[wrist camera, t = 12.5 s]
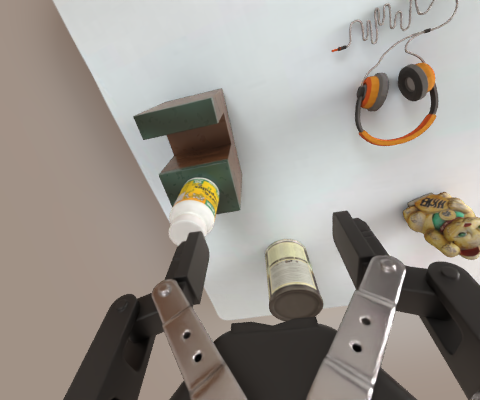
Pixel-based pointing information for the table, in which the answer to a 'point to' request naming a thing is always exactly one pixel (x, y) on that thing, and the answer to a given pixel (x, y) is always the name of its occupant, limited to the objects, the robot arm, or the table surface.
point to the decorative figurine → (445, 224)
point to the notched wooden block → (197, 145)
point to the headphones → (410, 82)
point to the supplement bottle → (194, 209)
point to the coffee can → (291, 281)
